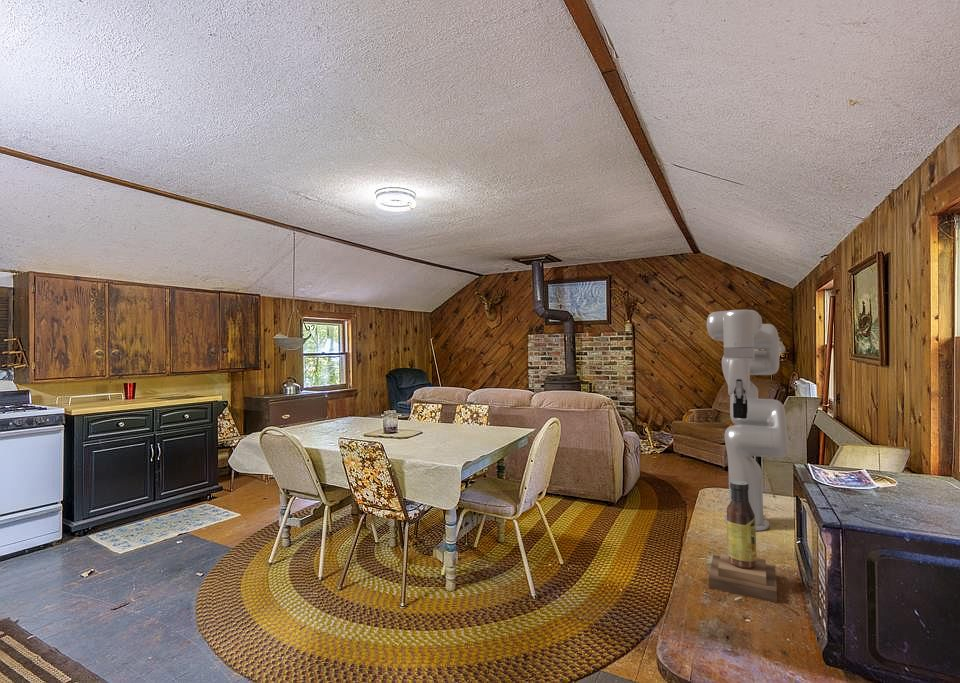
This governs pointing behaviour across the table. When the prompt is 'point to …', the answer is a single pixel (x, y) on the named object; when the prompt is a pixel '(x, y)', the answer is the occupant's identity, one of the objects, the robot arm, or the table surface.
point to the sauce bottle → (741, 527)
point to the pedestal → (743, 578)
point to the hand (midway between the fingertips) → (740, 415)
